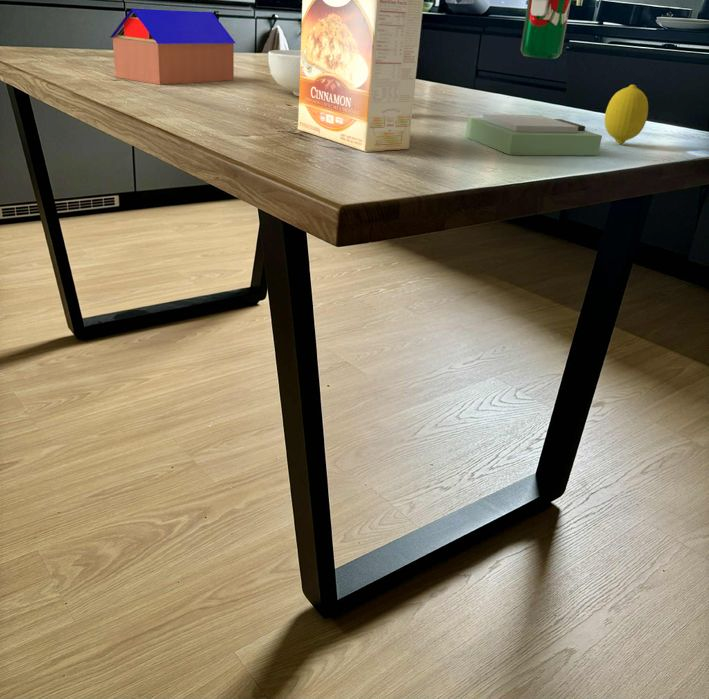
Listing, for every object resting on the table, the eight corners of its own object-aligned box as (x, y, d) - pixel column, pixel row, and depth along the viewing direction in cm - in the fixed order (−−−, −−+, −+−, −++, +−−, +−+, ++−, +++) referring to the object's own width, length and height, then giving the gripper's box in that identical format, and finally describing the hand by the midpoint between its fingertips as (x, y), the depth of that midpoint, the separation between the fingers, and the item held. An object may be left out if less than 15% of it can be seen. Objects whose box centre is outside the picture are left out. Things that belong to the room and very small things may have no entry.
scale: (547, 138, 102) (551, 113, 100) (598, 155, 92) (603, 129, 90) (465, 136, 98) (468, 111, 96) (509, 155, 88) (513, 127, 86)
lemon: (627, 141, 104) (640, 83, 101) (647, 148, 99) (662, 88, 96) (592, 139, 103) (604, 81, 100) (611, 147, 98) (624, 85, 95)
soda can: (545, 55, 93) (563, -50, 87) (568, 59, 89) (589, -51, 83) (511, 54, 91) (528, -54, 86) (534, 57, 87) (553, -56, 82)
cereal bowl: (334, 89, 137) (336, 50, 134) (381, 102, 124) (385, 59, 121) (252, 89, 129) (252, 46, 125) (294, 103, 116) (295, 56, 113)
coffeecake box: (295, 129, 93) (301, -41, 85) (340, 128, 97) (350, -35, 88) (363, 152, 82) (378, -40, 74) (410, 149, 86) (429, -33, 78)
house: (112, 77, 131) (107, 6, 125) (191, 73, 146) (189, 9, 141) (159, 84, 125) (156, 11, 120) (236, 79, 140) (235, 14, 135)
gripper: (571, -135, 72) (546, 16, 78) (618, -103, 88) (594, 20, 94) (512, -134, 75) (492, 12, 81) (568, -104, 91) (547, 16, 97)
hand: (547, 16), depth 88 cm, fingers closed on soda can, 5 cm apart
